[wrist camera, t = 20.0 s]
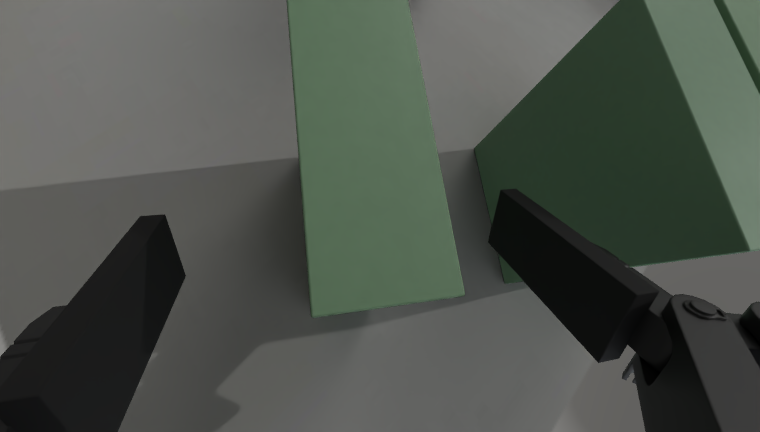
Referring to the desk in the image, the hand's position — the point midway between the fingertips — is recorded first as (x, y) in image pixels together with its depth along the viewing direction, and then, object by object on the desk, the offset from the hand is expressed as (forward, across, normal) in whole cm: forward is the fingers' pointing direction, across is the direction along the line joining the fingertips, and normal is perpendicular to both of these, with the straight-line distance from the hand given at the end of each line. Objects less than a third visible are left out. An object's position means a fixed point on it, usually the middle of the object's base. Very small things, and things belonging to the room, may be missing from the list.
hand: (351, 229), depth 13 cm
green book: (+7, +12, -4) cm, 15 cm away
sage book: (+7, 0, -4) cm, 8 cm away
